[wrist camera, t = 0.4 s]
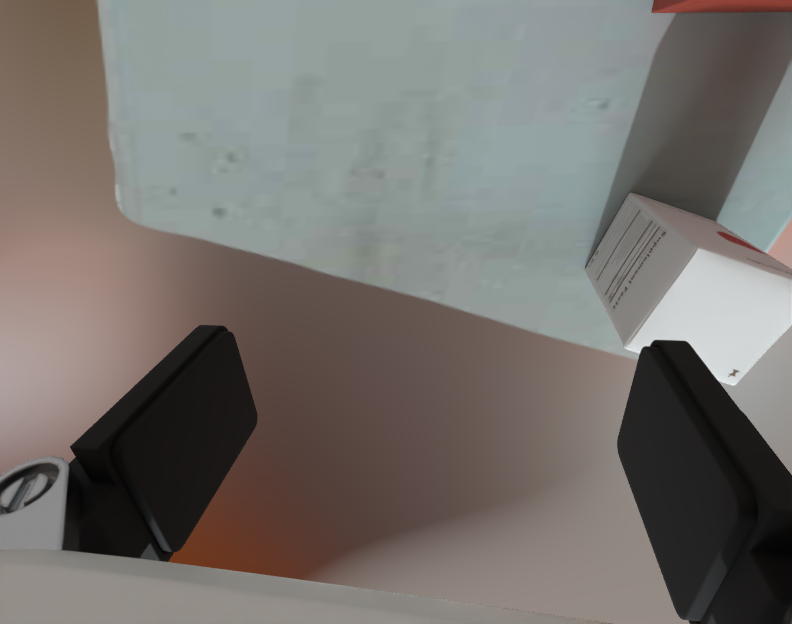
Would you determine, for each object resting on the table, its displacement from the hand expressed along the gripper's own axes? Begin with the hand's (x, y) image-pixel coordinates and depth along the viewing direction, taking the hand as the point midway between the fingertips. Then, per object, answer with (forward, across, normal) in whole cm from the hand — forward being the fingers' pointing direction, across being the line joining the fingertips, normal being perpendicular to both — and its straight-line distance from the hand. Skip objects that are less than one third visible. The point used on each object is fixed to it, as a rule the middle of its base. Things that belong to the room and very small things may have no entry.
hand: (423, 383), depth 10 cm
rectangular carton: (+36, -18, +10) cm, 42 cm away
